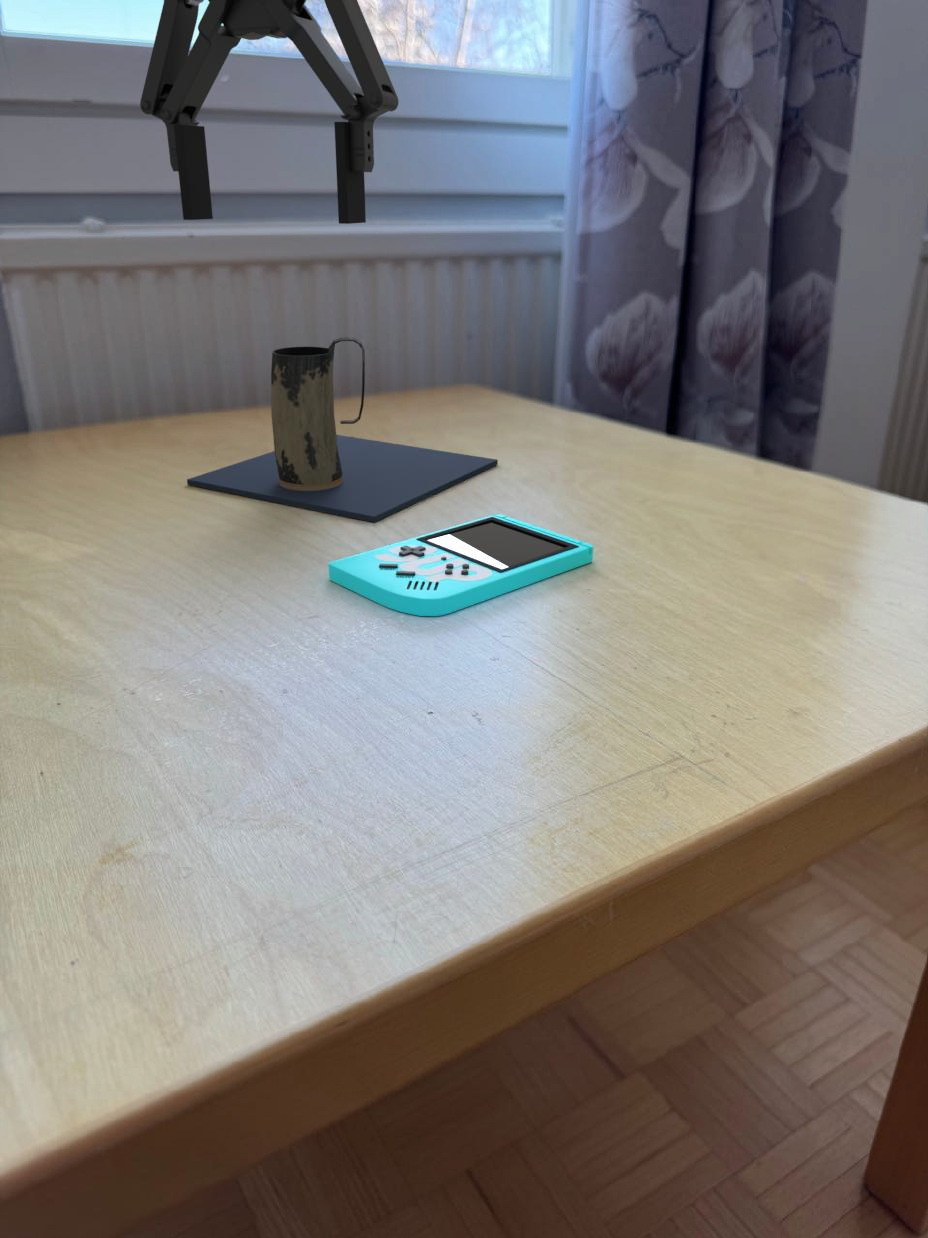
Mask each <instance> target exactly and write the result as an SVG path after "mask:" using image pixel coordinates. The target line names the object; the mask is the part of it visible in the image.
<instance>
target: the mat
mask: <svg viewBox="0 0 928 1238" xmlns="http://www.w3.org/2000/svg"><path fill="white" fill-rule="evenodd" d="M336 436H337V445H338V453H339V458H340V464H341V469H342V474H343V483H342V484H340V485H339V486H337V487H334V488H330V489H325V490H318V491H297V490H290V489H286V488H283V487H282V486H280V485H279V474H278V469H277V463H276V457H275V450H273V451H270V452H266V453H264V454H261V455H258V456H255V457H252V458H249V459H246V460H243V461H240V462H236V463H233V464H230V465H227V466H224V467H221V468H218V469H215V470H211V471H208V472H206V473H202V474H200V475H196V476H193V477H189V478H187V479H186V484H187V485H188V486H192V487H198V488H201V489H208V490H212V491H217V492H222V493H228V494H232V495H237V496H242V497H246V498H252V499H257V500H261V501H267V502H270V503H271V502H272V503H277V504H281V505H286V506H292V507H296V508H301V509H306V510H311V511H316V512H321V513H325V514H330V515H336V516H341V517H345V518H349V519H350V518H351V519H354V520H355V519H356V520H360V521H366V522H369V523H376V522H378V521H379V522H380V521H381V520H383V519H385V518H387V517H389V516H391V515H394V514H396V513H398V512H400V511H402V510H404V509H406V508H408V507H411V506H413V505H415V504H417V503H419V502H421V501H423V500H425V499H428V498H430V497H431V496H434V495H436V494H438V493H440V492H442V491H445V490H446V489H449V488H451V487H453V486H455V485H457V484H459V483H462V482H464V481H466V480H468V479H470V478H472V477H474V476H476V475H478V474H480V473H482V472H485V471H487V470H489V469H491V468H493V467H495V466H498V463H499V462H498V461H499V460H498V459H495V458H489V457H483V456H477V455H471V454H465V453H464V454H463V453H458V452H451V451H445V450H438V449H431V448H425V447H418V446H412V445H407V444H400V443H399V444H398V443H392V442H385V441H380V440H374V439H367V438H361V437H353V436H347V435H340V434H336Z"/></svg>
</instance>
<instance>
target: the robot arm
mask: <svg viewBox="0 0 928 1238" xmlns="http://www.w3.org/2000/svg"><path fill="white" fill-rule="evenodd" d="M204 1H205V0H163V5H162V9H161V13H160V17H159V21H158V25H157V30H156V32H155V33H156V34H155V38H154V42H153V47H152V51H151V56H150V58H149V59H150V60H149V63H148V67H147V72H146V77H145V81H144V84H143V89H142V94H141V98H140V103H139V106H140V110H141V111H142V113H144V114H145V115H151V116H153V117H155V118H157V119H159V120H161V121H162V122H163V123H164V125H165V127H166V135H167V136H166V137H167V144H168V154H169V162H170V166H171V169H172V172H177V173H178V180H179V182H178V183H179V190H180V199H181V209H182V218H183V220H184V221H196V220H197V221H199V220H214V216H213V206H212V205H213V204H212V195H211V194H212V193H211V183H210V175H209V174H210V173H209V172H210V171H209V161H208V153H207V152H208V151H207V141H206V130H205V126H204V125H199V124H200V121H198V120H197V116H198V114H199V112H200V110H201V109H202V107H203V104H204V103H205V101H206V99H207V97H208V95H209V93H210V92H211V89H212V88H213V85H214V84H215V81H216V80H217V78H218V77H219V74H220V72H221V70H222V68H223V66H224V64H225V62H226V61H227V58H228V56H229V55H230V52H231V51H232V50H233V49H234V48H236V47H238V45H239V44H240V42H241V40H248V41H257V40H261V39H263V38H266V37H270V38H273V39H276V40H277V39H289V40H290V41H291V42H292V43H293V45H294V46H295V47H296V49H297V50H298V52H299V54H300V55H302V57H303V58H304V60H305V62H306V63H307V64H308V66H309V67H310V68H311V70H312V71H313V73H314V74H315V75H316V77H317V78H318V80H319V81H320V82H321V85H323V87H324V88H325V90H326V91H327V93H328V94H329V96H330V97H331V98H332V100H333V101H334V102H335V104H336V105H337V106H338V108H339V109H340V111H341V112H342V115H340V117H341V119H343V120H345V121H334V123H333V124H334V125H333V126H334V144H335V145H334V146H335V171H336V190H337V194H336V195H337V213H338V214H337V215H338V217H337V218H338V224H344V225H346V224H347V225H350V224H364V223H366V222H367V220H366V218H367V217H366V216H367V215H366V188H365V185H366V184H365V173H372V172H373V169H374V166H375V156H374V155H375V152H374V151H375V150H374V124H375V121H376V119H377V118H378V117H380V116H383V115H385V114H387V113H388V112H394V111H396V110H397V108H398V106H399V97H398V94H397V93H396V90H395V87H394V85H393V82H392V80H391V78H390V75H389V73H388V71H387V68H386V66H385V63H384V61H383V58H382V57H381V54H380V52H379V49H378V46H377V44H376V41H375V40H374V37H373V35H372V32H371V30H370V28H369V26H368V23H367V21H366V18H365V16H364V13H363V11H362V9H361V6H360V4H359V2H358V0H323V1H324V4H325V6H326V8H327V11H328V13H329V15H330V18H331V20H332V23H333V26H334V28H335V29H336V33H337V35H338V37H339V40H340V42H341V44H342V46H343V49H344V52H345V53H346V56H347V58H348V61H349V63H350V65H351V68H352V70H353V73H354V75H355V77H356V79H355V78H354V76H353V75H352V74H351V72H350V71H349V69H348V68H347V66H346V65H345V64H344V62H343V61H342V59H341V58H340V56H339V55H338V53H337V52H336V51H335V50H334V48H333V47H332V45H331V43H329V41H328V39H327V38H326V36H325V35H324V33H323V32H322V27H321V25H320V24H319V22H318V21H317V19H316V18H315V17H314V15H313V14H312V12H311V11H310V10H309V8H308V7H307V5H306V2H307V0H207V1H208V5H207V6H206V8H205V10H204V13H203V14H202V17H201V18H200V21H199V23H198V25H197V21H198V16H199V10H200V9H199V7H200V4H201V3H204ZM196 27H197V30H198V34H197V36H196V39H195V41H194V43H193V45H192V42H193V37H194V33H195V29H196ZM191 45H192V47H191Z"/></svg>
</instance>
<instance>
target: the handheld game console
mask: <svg viewBox="0 0 928 1238" xmlns="http://www.w3.org/2000/svg"><path fill="white" fill-rule="evenodd" d="M593 560H594V545H593V544H591V543H588V542H585V541H583V540H579V539H576V538H574V537H570V536H567V535H564V534H561V533H558V532H555V531H552V530H550V529H547V528H543V527H539V526H537V525H535V524H531V523H528V522H525V521H522V520H519V519H516V518H512V517H510V516H507V515H504V514H500V513H499V514H498V513H497V514H496V513H495V514H493V515H489V516H485V517H482V518H478V519H474V520H471V521H468V522H464V523H460V524H457V525H453V526H451V527H447V528H443V529H440V530H436V531H433V532H428V533H426V534H423V535H418V536H415V537H412V538H409V539H405V540H402V541H398V542H395V543H391V544H388V545H384V546H380V547H378V548H374V549H371V550H366V551H363V552H361V553H357V554H354V555H349V556H346V557H342V558H339V559H336V560H331V561H329V562H328V578H329V580H330V581H331V582H333V583H335V584H337V585H339V586H342V587H343V588H346V589H348V590H350V591H352V592H354V593H356V594H358V595H360V596H362V597H365V598H367V599H369V600H371V601H373V602H375V603H377V604H379V605H381V606H384V607H385V608H387V609H391V610H393V611H397V612H401V613H403V614H409V615H414V616H419V617H438V616H439V617H440V616H445V615H449V614H451V613H454V612H456V611H457V612H458V611H460V610H462V609H466V608H468V607H471V606H473V605H476V604H479V603H483V602H484V601H488V600H490V599H494V598H496V597H498V596H502V595H504V594H507V593H510V592H512V591H516V590H518V589H520V588H524V587H526V586H529V585H532V584H535V583H537V582H540V581H543V580H545V579H549V578H551V577H554V576H557V575H559V574H562V573H565V572H568V571H570V570H573V569H576V568H579V567H582V566H585V565H587V564H590V563H592V562H593Z"/></svg>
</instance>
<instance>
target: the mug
mask: <svg viewBox="0 0 928 1238" xmlns="http://www.w3.org/2000/svg"><path fill="white" fill-rule="evenodd" d="M340 342H354V343H356V344H357V345H358V346H359V347H360V349H361V356H362V359H361V376H362V377H361V397H360V398H361V399H360V407H359V412H358V416H357V418H354V419H352V420H351V419H349V420H348V419H347V420H344V419H343V420H340V421H339V422H340V424H341V425H354V424H357V423H358V422H359V421H360V420H361V418H362V413H363V409H364V403H365V402H364V401H365V387H366V385H365V381H366V379H365V378H366V377H365V376H366V374H365V373H366V372H365V371H366V370H365V369H366V366H365V365H366V359H365V358H366V355H365V354H366V353H365V352H366V351H365V347H364V346H363V344H362V342H361V341H360V340H359V339H356V338H355V337H346V336H345V337H339V338H336V339H334V340H332V342H331V343H330V345H329V346H328V347H324V346H323V347H320V346H291V347H281V348H276V349H274V350H272V352H271V367H270V368H271V370H270V399H271V401H270V403H271V404H270V405H271V408H270V409H271V425H272V435H273V447H274V451H275V457H276V463H277V469H278V474H279V485H280V486H282V487H283V488H286V489H290V490H297V491H318V490H325V489H330V488H334V487H337V486H339V485H340V484H342V483H343V474H342V469H341V464H340V458H339V453H338V445H337V436H336V435H337V428H336V427H337V425H336V420H335V398H334V378H333V377H334V361H335V360H334V359H335V347H336V344H338V343H340Z"/></svg>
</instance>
